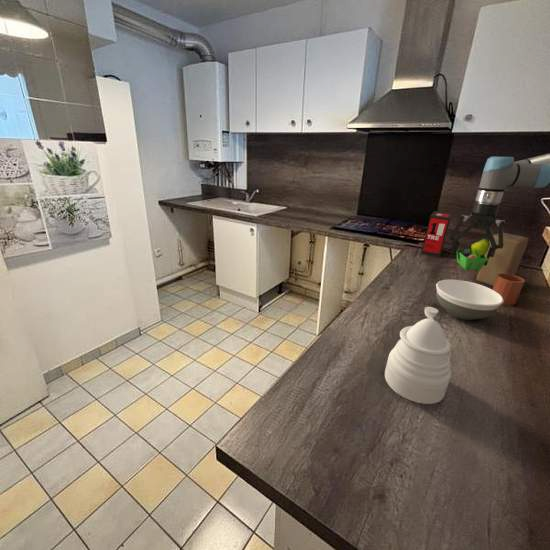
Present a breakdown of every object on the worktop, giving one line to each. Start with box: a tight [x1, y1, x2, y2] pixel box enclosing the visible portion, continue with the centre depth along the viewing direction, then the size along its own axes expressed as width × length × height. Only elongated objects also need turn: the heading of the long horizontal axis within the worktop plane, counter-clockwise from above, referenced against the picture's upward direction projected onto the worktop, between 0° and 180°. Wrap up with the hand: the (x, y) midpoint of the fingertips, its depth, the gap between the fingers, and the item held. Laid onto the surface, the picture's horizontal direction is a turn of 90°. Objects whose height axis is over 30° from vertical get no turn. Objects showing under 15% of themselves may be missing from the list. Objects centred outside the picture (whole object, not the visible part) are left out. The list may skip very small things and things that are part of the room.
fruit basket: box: [456, 238, 490, 272], centre depth 111 cm, size 11×9×11 cm
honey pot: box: [384, 306, 452, 405], centre depth 63 cm, size 13×13×18 cm
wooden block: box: [476, 232, 529, 287], centre depth 118 cm, size 10×10×20 cm
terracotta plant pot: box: [491, 273, 526, 306], centre depth 105 cm, size 8×8×9 cm
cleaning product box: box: [420, 210, 454, 258], centre depth 154 cm, size 16×9×20 cm, turn 147°
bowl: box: [435, 279, 503, 321], centre depth 95 cm, size 19×19×8 cm
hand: (469, 261), depth 113 cm, fingers closed on fruit basket, 10 cm apart
